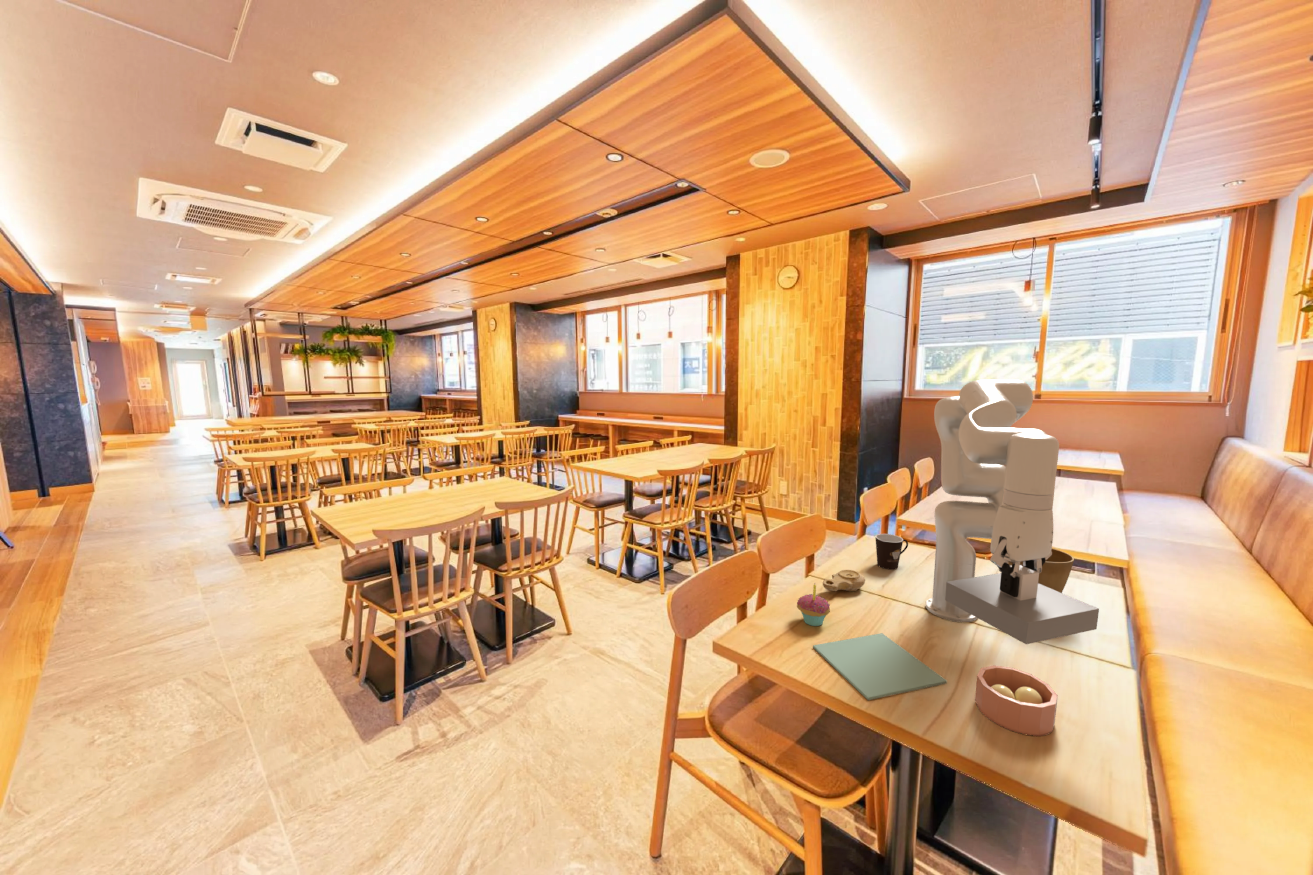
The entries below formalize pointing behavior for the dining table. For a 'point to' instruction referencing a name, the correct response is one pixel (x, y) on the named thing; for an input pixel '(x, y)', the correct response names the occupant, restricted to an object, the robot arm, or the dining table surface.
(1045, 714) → the bowl
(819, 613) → the cupcake
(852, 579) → the oil lamp
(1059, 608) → the cover
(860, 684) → the mat
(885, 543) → the coffee mug
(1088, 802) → the dining table surface
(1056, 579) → the plant pot
